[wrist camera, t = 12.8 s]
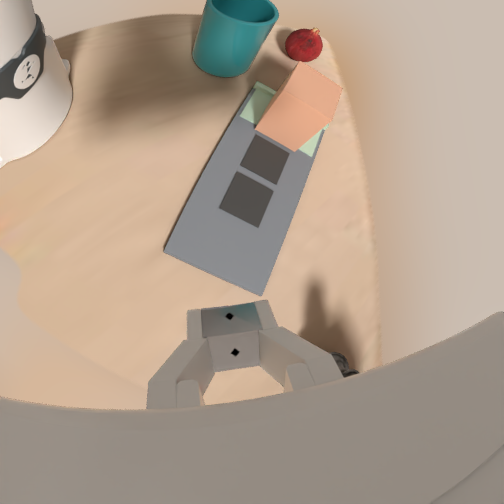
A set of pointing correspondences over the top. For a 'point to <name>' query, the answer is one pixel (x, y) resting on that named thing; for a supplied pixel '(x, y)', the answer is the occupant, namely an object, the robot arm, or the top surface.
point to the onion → (304, 44)
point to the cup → (232, 35)
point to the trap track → (243, 200)
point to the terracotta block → (300, 107)
